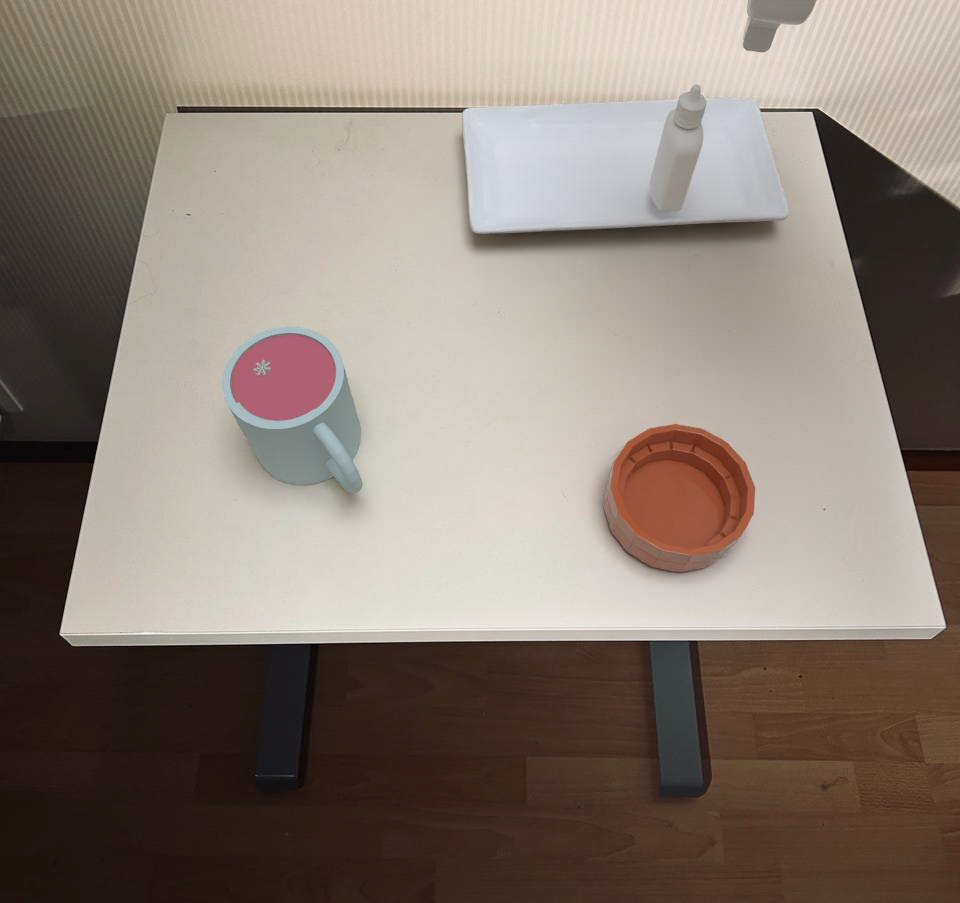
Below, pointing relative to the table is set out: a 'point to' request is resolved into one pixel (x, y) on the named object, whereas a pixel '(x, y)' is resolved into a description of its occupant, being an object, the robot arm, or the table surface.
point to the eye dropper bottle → (678, 151)
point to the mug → (295, 406)
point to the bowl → (678, 497)
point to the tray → (612, 166)
